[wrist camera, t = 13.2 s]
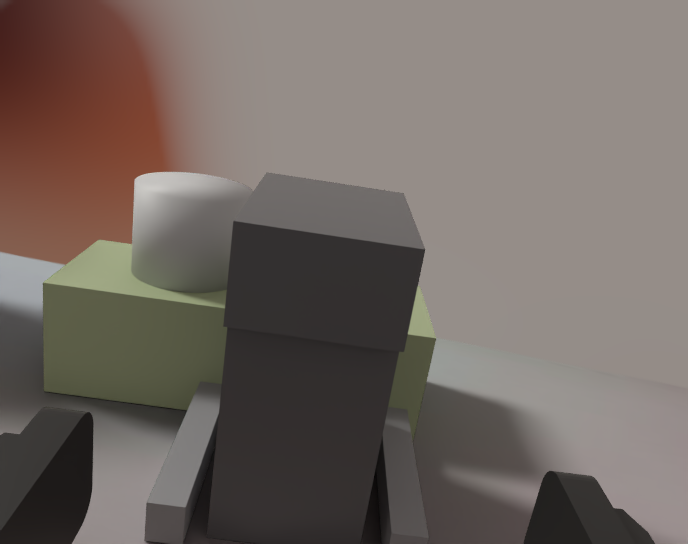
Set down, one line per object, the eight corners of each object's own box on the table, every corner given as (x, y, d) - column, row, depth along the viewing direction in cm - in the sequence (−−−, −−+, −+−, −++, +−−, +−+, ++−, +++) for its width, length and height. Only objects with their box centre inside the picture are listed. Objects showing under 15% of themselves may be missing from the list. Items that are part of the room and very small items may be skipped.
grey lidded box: (200, 556, 20) (233, 220, 16) (237, 431, 26) (266, 172, 22) (357, 575, 20) (424, 249, 16) (355, 447, 26) (403, 193, 23)
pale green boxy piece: (-66, 514, 19) (-89, 241, 16) (96, 331, 32) (100, 158, 29) (436, 576, 20) (501, 326, 17) (401, 373, 33) (435, 209, 30)
